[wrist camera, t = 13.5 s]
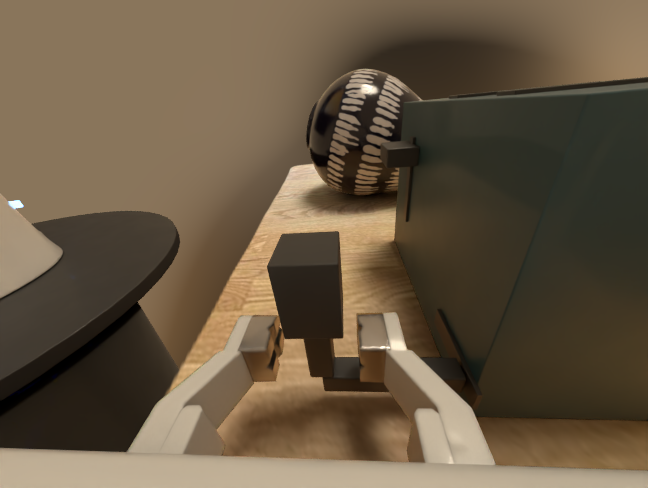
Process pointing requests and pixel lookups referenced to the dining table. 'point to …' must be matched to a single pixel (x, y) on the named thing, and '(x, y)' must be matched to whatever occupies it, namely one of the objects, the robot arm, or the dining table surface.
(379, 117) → the vase
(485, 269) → the toaster
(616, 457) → the dining table surface
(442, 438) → the robot arm
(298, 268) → the toaster slider
